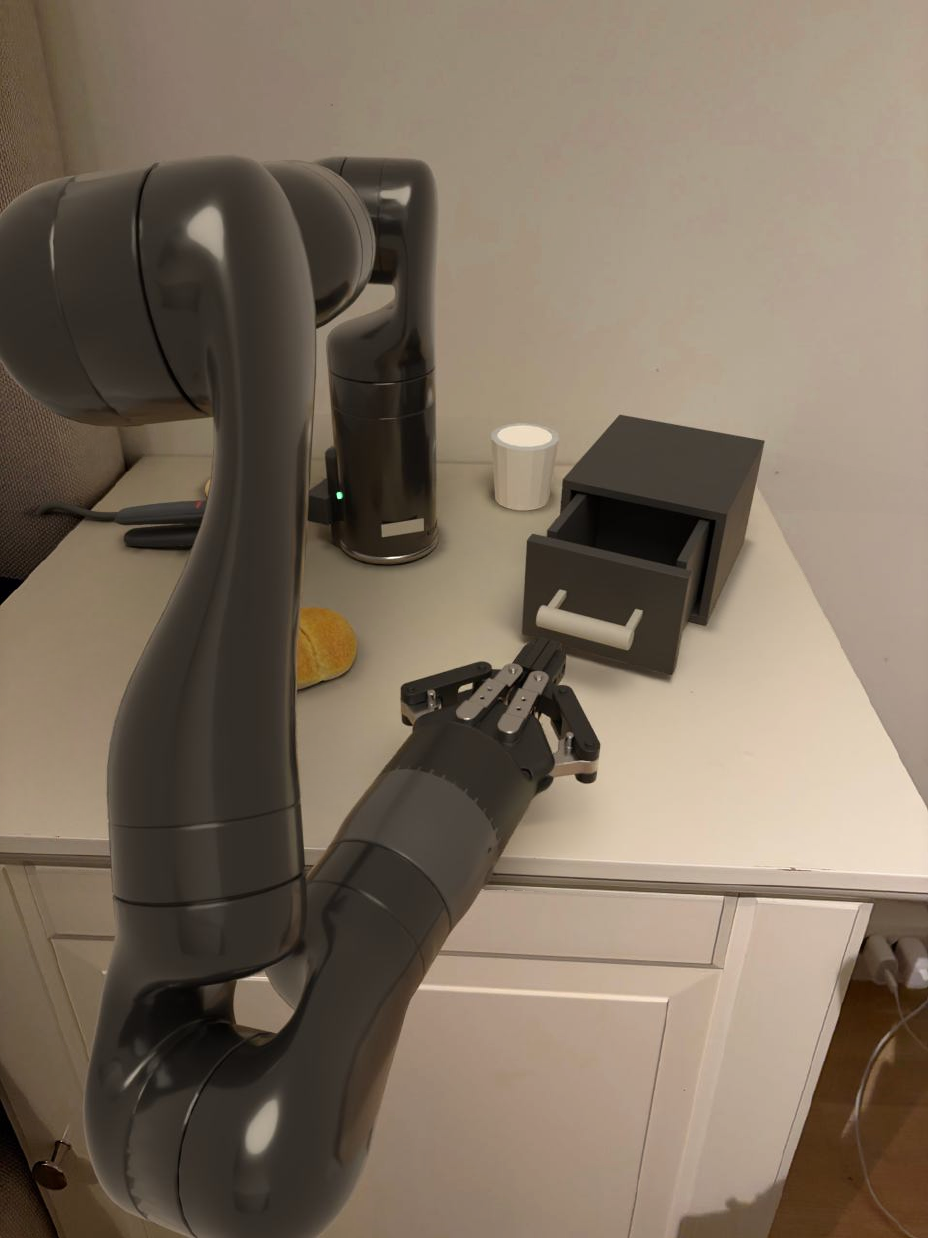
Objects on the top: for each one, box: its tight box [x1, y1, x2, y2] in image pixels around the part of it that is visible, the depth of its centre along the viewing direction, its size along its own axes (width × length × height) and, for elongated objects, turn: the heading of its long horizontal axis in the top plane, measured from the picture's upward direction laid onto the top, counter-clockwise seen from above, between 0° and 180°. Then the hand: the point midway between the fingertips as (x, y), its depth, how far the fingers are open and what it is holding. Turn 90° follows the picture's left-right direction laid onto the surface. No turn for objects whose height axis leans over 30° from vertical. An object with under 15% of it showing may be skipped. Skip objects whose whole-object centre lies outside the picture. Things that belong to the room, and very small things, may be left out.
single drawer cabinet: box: [559, 414, 766, 626], centre depth 83 cm, size 16×14×11 cm
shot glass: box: [490, 422, 560, 512], centre depth 95 cm, size 7×7×7 cm
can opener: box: [114, 499, 207, 548], centre depth 86 cm, size 18×7×6 cm, turn 80°
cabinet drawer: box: [521, 491, 716, 677], centre depth 74 cm, size 19×12×9 cm, turn 155°
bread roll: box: [297, 606, 358, 690], centre depth 72 cm, size 8×9×4 cm
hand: (550, 650), depth 60 cm, fingers closed
